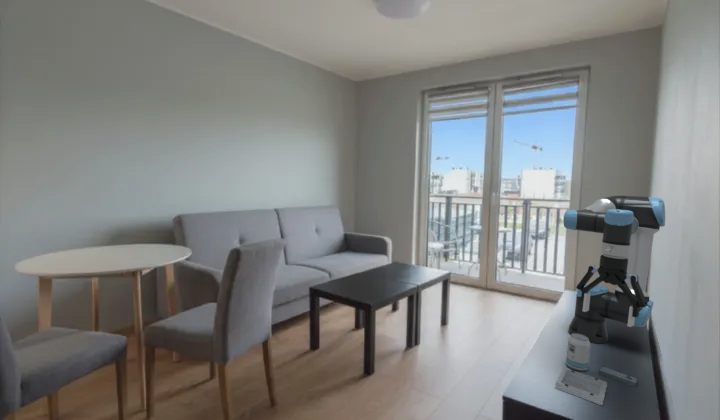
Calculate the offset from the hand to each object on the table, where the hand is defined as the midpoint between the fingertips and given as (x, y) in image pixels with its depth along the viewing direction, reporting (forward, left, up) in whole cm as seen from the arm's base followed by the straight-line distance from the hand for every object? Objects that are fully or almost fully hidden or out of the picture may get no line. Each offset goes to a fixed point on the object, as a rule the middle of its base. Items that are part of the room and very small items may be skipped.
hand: (606, 318), depth 119 cm
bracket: (-10, +5, -24) cm, 26 cm away
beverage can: (-7, -8, -24) cm, 26 cm away
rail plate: (+7, -4, -23) cm, 25 cm away
